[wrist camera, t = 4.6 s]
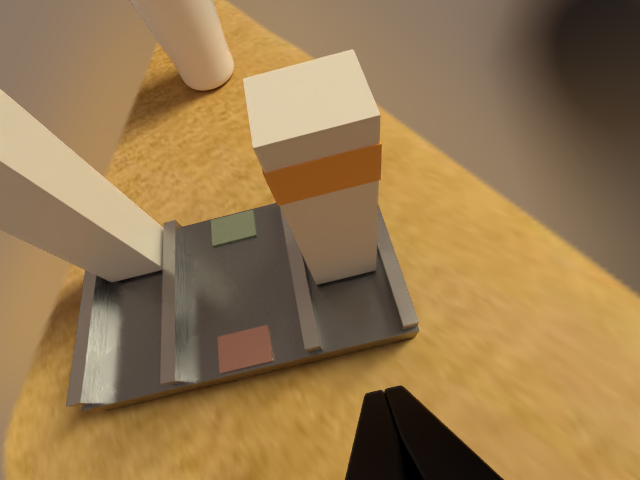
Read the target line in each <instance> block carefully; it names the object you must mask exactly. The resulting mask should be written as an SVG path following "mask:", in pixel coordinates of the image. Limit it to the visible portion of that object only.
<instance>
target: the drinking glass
mask: <svg viewBox="0 0 640 480" xmlns="http://www.w3.org/2000/svg"><path fill="white" fill-rule="evenodd" d="M129 1H130V2H131V4H132V5H133V7H134V8H135V9H136V11H137V12H138V14H139V15H140V16H141V18H142V19H143V21H144V22H145V24H146V25H147V27H148V28H149V30H150V31H151V32H152V34H153V35H154V37H155V38H156V40H157V41H158V43H159V44H160V46H161V47H162V48H163V50H164V51H165V53H166V54H167V56H168V57H169V59H170V60H171V62H172V63H173V65H174V66H175V68H176V69H177V71H178V73H179V74H180V76H181V78H182V80H183V81H184V83H185V84H186V85H187V86H189V87H190V88H192V89H195V90H199V91H206V90H211V89H214V88H217V87H219V86H221V85H222V84H224V83H225V82H226V81H227V80H228V79H229V78H230V77H231V75H232V74H233V71H234V61H233V58H232V55H231V53H230V50H229V48H228V45H227V42H226V39H225V36H224V33H223V30H222V27H221V24H220V21H219V17H218V14H217V11H216V8H215V5H214V1H213V0H129Z"/></svg>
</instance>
